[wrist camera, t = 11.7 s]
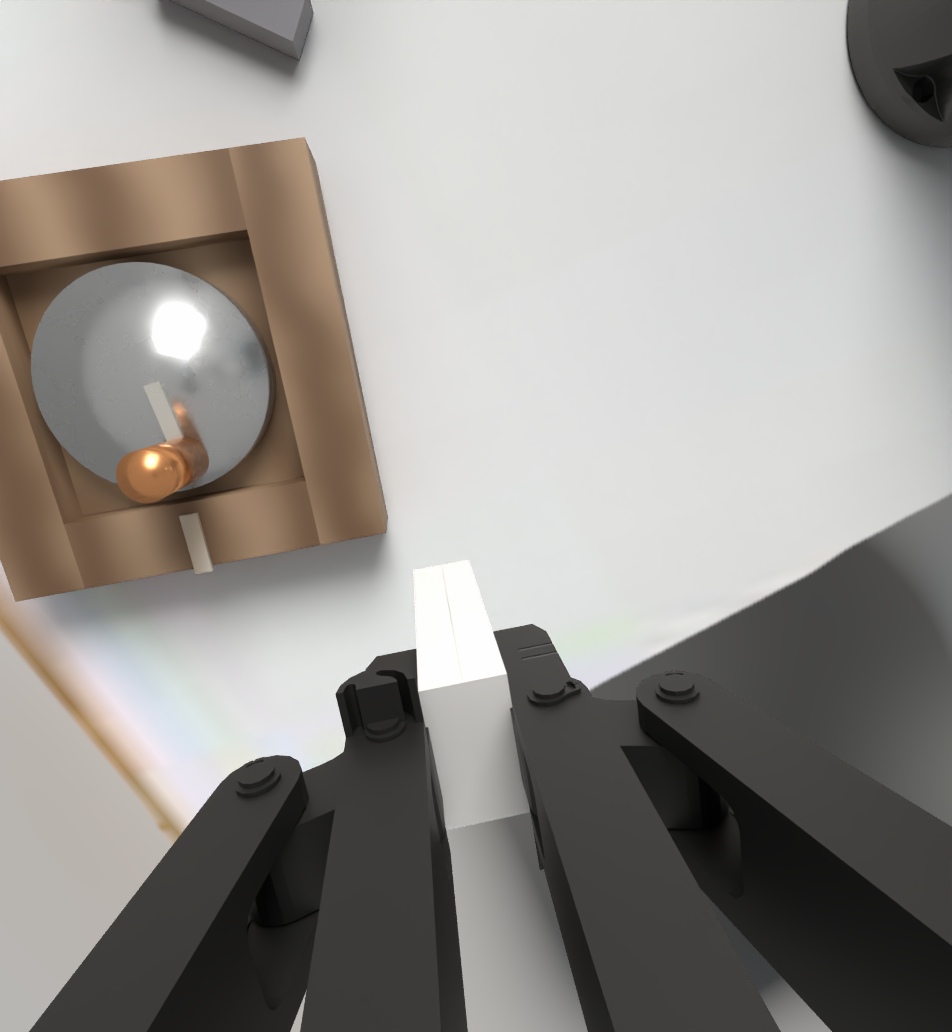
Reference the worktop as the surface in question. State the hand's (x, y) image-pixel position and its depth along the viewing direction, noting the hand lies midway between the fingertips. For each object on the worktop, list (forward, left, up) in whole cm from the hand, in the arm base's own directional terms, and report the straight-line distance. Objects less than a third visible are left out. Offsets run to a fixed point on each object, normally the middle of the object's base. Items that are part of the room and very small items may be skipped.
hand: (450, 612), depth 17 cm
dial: (+14, -8, -24) cm, 29 cm away
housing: (+14, -8, -26) cm, 31 cm away
